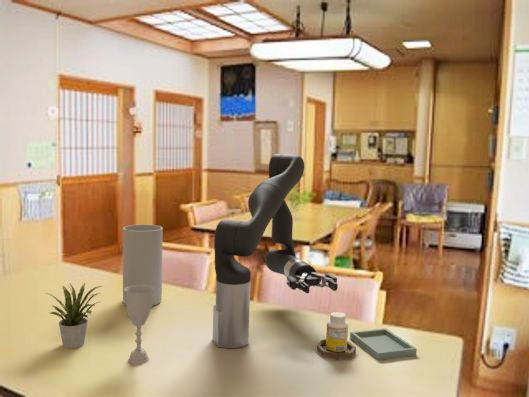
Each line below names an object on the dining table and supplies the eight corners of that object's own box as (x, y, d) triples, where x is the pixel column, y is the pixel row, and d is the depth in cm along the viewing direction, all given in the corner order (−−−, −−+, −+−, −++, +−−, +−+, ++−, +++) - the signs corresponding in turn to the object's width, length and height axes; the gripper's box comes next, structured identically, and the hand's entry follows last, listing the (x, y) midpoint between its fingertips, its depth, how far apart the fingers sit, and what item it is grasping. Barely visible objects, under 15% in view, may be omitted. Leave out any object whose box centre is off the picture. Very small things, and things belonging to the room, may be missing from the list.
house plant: (118, 339, 133) (118, 280, 131) (83, 359, 120) (83, 294, 118) (74, 330, 138) (74, 273, 136) (37, 349, 125) (36, 287, 123)
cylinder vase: (169, 300, 166) (170, 227, 163) (141, 310, 156) (142, 232, 153) (143, 293, 173) (143, 223, 170) (114, 302, 162) (114, 227, 159)
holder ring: (327, 361, 124) (328, 355, 124) (311, 346, 133) (312, 340, 133) (361, 357, 127) (361, 351, 127) (343, 342, 136) (343, 337, 136)
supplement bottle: (332, 345, 134) (334, 309, 133) (350, 351, 131) (352, 314, 129) (321, 351, 130) (323, 314, 129) (339, 358, 126) (341, 319, 125)
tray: (377, 360, 126) (378, 353, 126) (350, 338, 140) (350, 332, 140) (416, 355, 130) (416, 348, 130) (385, 334, 144) (385, 328, 143)
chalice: (145, 367, 117) (145, 294, 115) (118, 364, 118) (118, 291, 116) (157, 355, 124) (158, 285, 122) (132, 352, 126) (133, 283, 123)
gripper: (278, 262, 151) (299, 277, 136) (320, 259, 155) (345, 274, 140) (277, 286, 152) (298, 303, 137) (319, 282, 156) (344, 299, 141)
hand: (322, 288), depth 138 cm, fingers open, 8 cm apart
